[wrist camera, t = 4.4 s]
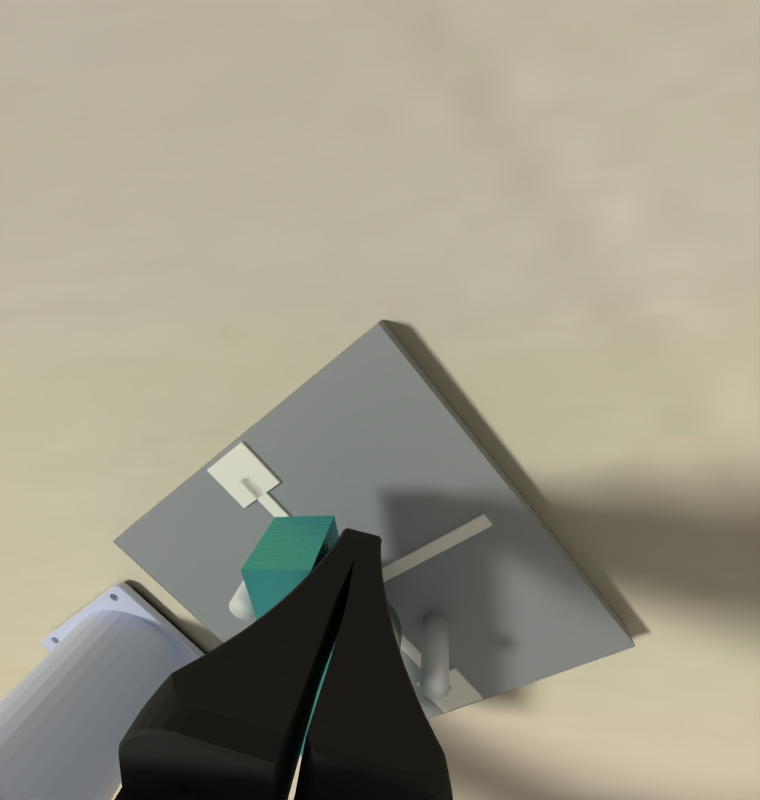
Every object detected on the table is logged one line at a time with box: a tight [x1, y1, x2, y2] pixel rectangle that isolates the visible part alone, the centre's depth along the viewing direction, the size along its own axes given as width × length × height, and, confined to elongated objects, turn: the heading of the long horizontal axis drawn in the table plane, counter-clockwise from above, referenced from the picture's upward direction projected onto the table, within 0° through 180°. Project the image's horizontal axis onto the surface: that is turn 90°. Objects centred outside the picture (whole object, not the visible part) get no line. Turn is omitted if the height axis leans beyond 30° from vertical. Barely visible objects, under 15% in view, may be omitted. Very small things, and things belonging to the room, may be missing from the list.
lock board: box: [113, 320, 635, 719], centre depth 17 cm, size 18×18×4 cm
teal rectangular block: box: [241, 516, 402, 756], centre depth 15 cm, size 13×5×4 cm, turn 8°
